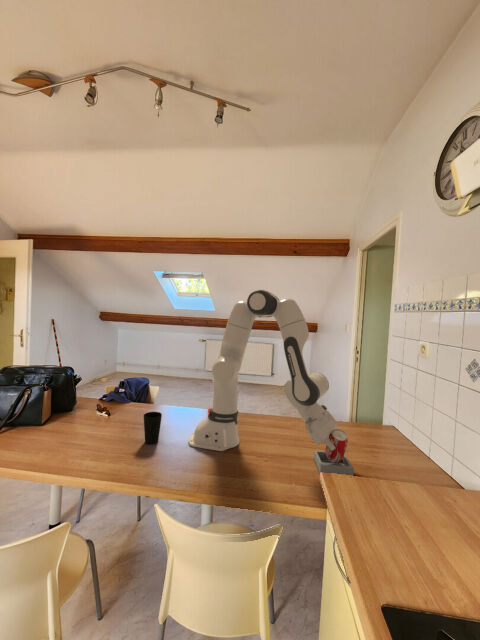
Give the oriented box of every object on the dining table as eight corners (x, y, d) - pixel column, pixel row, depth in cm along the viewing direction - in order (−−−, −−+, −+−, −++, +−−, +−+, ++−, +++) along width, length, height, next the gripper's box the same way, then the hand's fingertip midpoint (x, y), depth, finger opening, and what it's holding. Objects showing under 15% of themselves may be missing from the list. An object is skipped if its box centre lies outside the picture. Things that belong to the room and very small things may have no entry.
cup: (164, 442, 128) (165, 415, 128) (148, 447, 122) (149, 419, 122) (154, 436, 133) (155, 410, 133) (139, 441, 128) (140, 414, 127)
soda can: (340, 468, 111) (347, 444, 107) (322, 459, 114) (328, 436, 110) (344, 455, 117) (350, 432, 113) (326, 447, 120) (332, 425, 116)
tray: (320, 475, 108) (320, 465, 108) (313, 458, 120) (313, 450, 120) (353, 477, 107) (353, 468, 107) (343, 460, 119) (343, 452, 119)
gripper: (309, 417, 107) (335, 451, 102) (326, 404, 125) (349, 432, 119) (297, 427, 110) (322, 460, 105) (315, 412, 127) (337, 440, 122)
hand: (337, 445), depth 112 cm, fingers closed on soda can, 5 cm apart
